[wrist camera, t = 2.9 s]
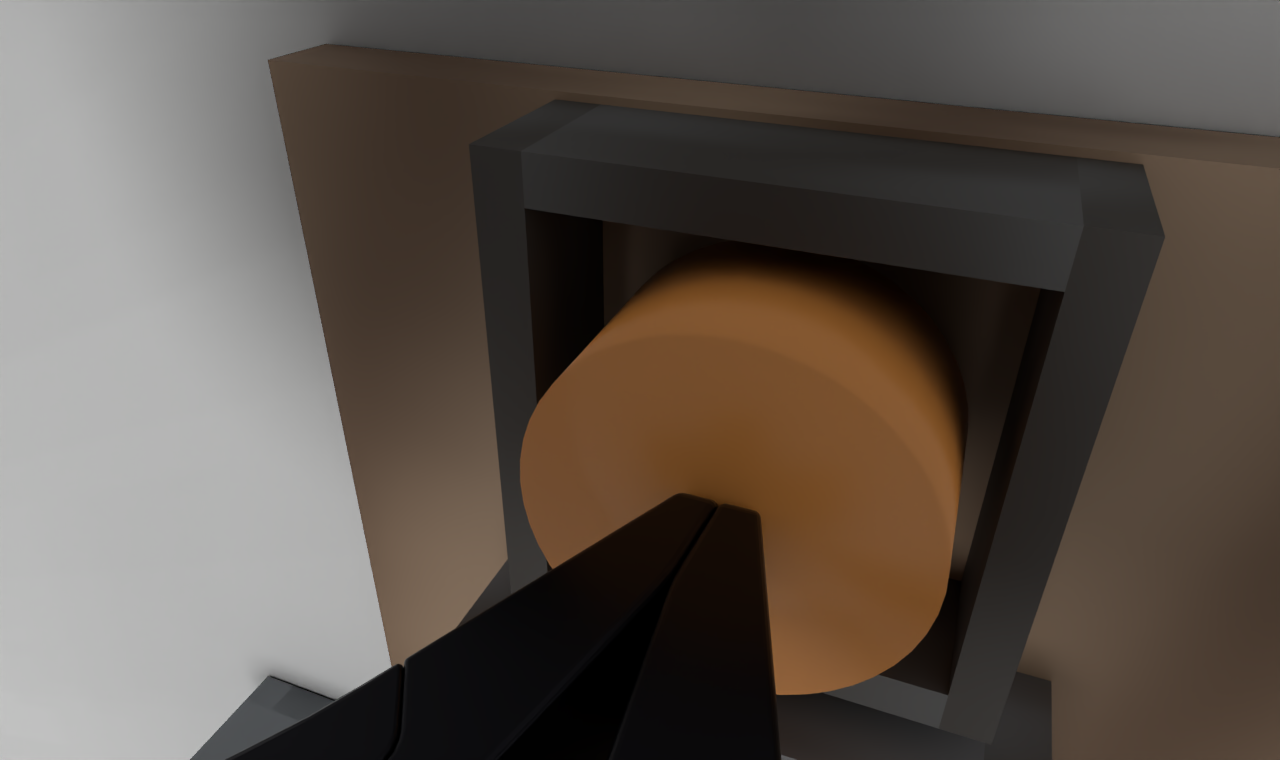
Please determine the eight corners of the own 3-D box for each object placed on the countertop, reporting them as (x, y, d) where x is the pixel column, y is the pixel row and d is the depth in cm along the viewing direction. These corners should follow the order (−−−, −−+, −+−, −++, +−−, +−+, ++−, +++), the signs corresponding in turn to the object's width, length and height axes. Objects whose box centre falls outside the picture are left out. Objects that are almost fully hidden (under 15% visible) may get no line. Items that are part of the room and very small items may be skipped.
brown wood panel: (1645, 172, 8) (1982, 358, 5) (1136, 991, 16) (1156, 1242, 13) (325, 44, 13) (111, 103, 10) (442, 731, 21) (344, 876, 18)
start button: (1009, 272, 9) (999, 390, 7) (929, 590, 11) (905, 744, 9) (606, 211, 10) (506, 297, 8) (610, 506, 12) (531, 626, 11)
